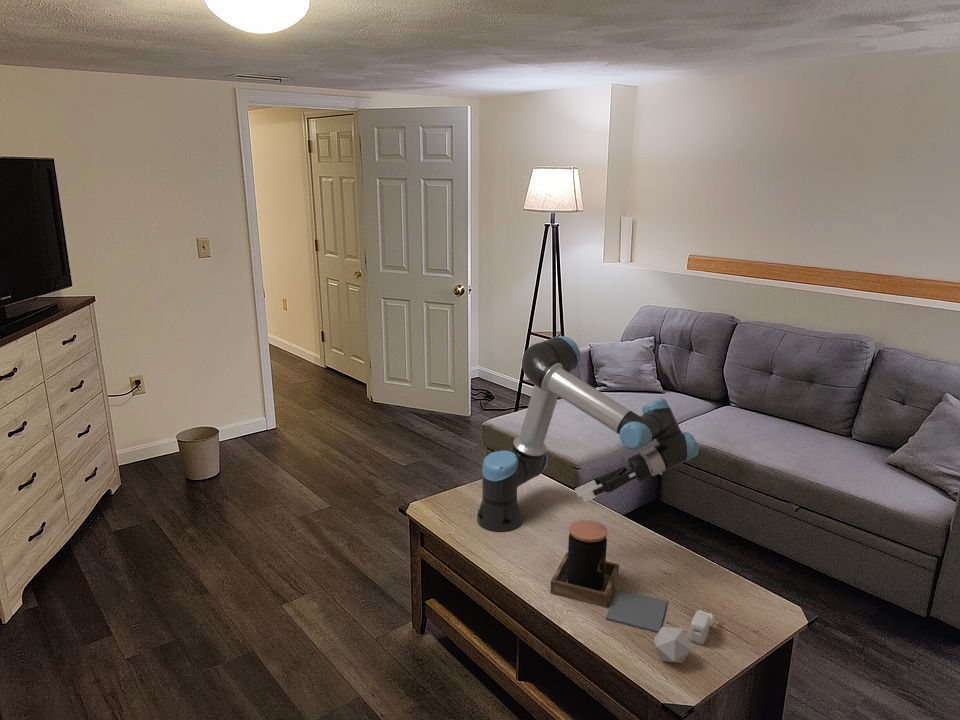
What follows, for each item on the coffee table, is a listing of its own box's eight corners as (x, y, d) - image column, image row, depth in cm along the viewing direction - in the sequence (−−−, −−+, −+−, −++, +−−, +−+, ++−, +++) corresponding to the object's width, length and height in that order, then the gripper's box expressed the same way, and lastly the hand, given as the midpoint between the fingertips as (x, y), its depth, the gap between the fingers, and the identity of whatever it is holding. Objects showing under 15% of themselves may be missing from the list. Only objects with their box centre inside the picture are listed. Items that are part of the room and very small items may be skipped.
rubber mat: (616, 590, 194) (617, 588, 193) (667, 602, 188) (667, 600, 188) (605, 619, 181) (605, 617, 181) (659, 633, 176) (659, 631, 176)
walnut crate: (566, 563, 206) (566, 552, 205) (618, 576, 200) (619, 564, 199) (550, 593, 192) (550, 581, 191) (606, 607, 186) (607, 595, 185)
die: (678, 678, 162) (701, 645, 162) (647, 655, 163) (670, 622, 163) (673, 665, 170) (695, 634, 170) (644, 644, 171) (665, 612, 171)
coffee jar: (603, 598, 190) (607, 541, 185) (565, 593, 192) (567, 537, 187) (604, 576, 200) (608, 521, 195) (568, 571, 202) (570, 517, 197)
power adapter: (697, 617, 182) (699, 598, 181) (716, 623, 180) (718, 604, 178) (686, 640, 173) (688, 621, 172) (705, 647, 171) (707, 628, 169)
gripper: (662, 480, 184) (590, 512, 183) (642, 474, 208) (579, 502, 208) (650, 454, 184) (579, 487, 184) (631, 451, 209) (569, 480, 209)
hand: (579, 495), depth 196 cm, fingers open, 13 cm apart
